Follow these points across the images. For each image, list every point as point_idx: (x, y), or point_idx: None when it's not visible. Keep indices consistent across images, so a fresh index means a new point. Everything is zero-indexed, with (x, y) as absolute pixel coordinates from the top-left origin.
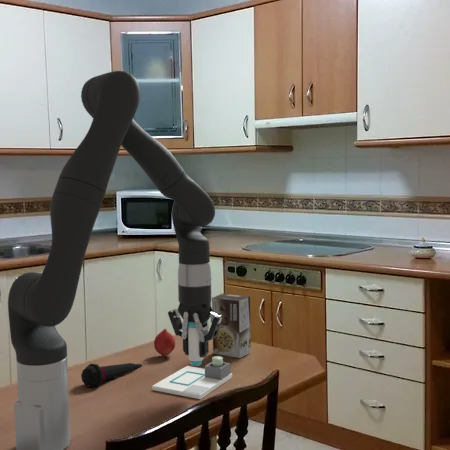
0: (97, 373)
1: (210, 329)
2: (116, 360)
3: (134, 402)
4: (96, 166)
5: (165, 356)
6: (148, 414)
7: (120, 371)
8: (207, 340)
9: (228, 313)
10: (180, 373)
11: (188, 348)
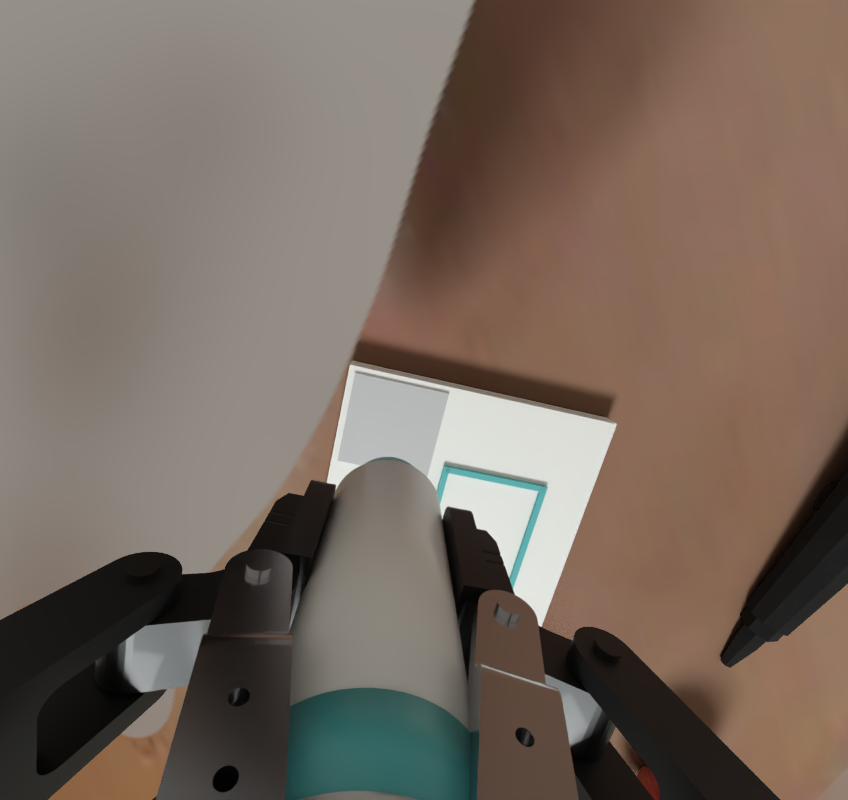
0: None
1: (18, 669)
2: (841, 691)
3: (654, 248)
4: None
5: (644, 766)
6: (544, 105)
7: (810, 541)
8: (203, 573)
9: None
10: (525, 594)
11: (443, 538)
